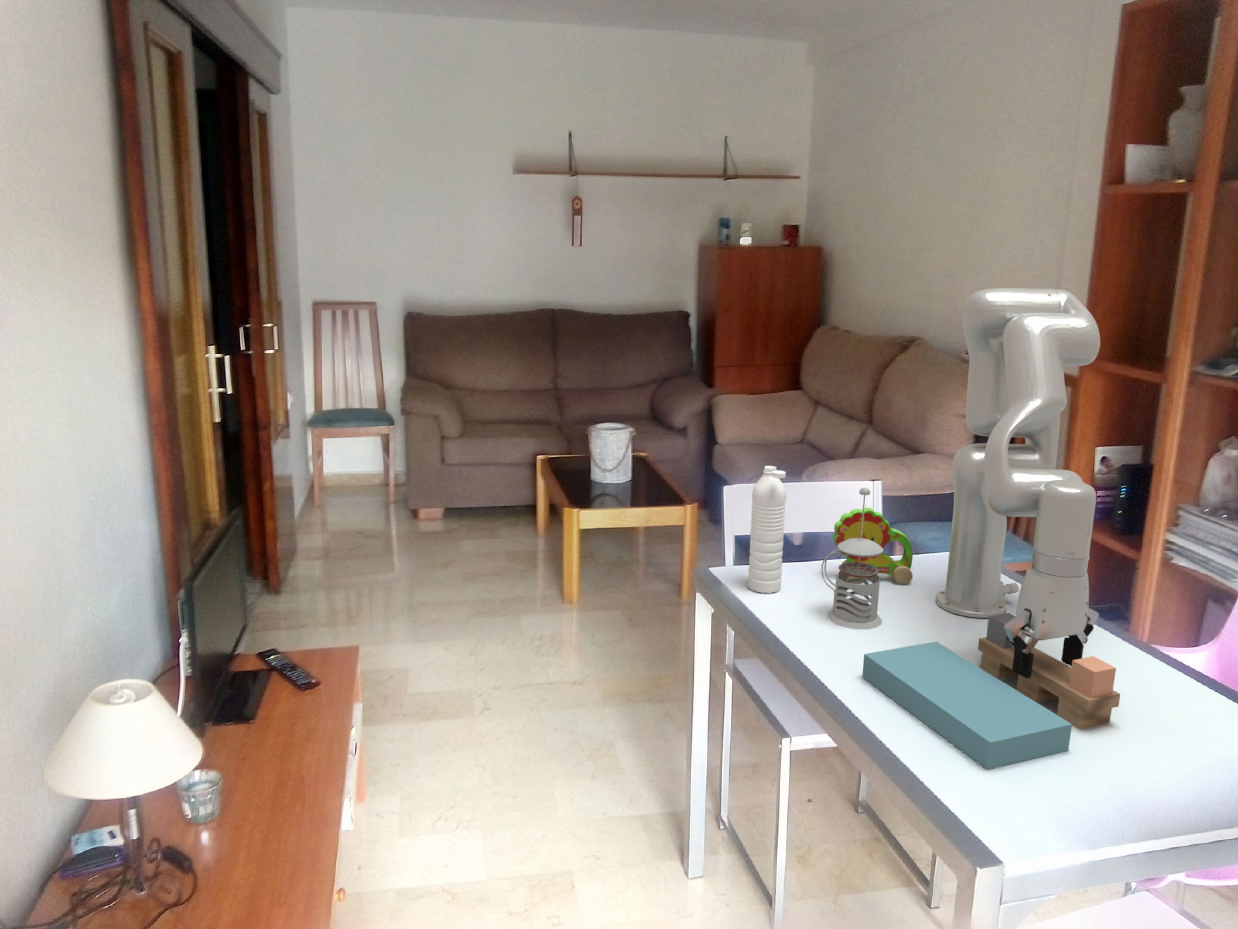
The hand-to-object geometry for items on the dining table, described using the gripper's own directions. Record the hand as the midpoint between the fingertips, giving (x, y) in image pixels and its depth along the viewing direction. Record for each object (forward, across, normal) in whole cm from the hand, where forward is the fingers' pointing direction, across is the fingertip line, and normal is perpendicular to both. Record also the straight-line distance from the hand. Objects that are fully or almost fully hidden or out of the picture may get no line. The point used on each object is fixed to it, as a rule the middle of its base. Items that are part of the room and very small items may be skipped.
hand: (1046, 670), depth 142 cm
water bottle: (+4, +19, -53) cm, 56 cm away
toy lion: (+3, -4, -51) cm, 51 cm away
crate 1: (-1, 0, -9) cm, 9 cm away
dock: (+4, +16, -1) cm, 16 cm away
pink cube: (0, 0, +8) cm, 8 cm away
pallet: (+4, 0, -1) cm, 4 cm away
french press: (+4, +11, -36) cm, 37 cm away
